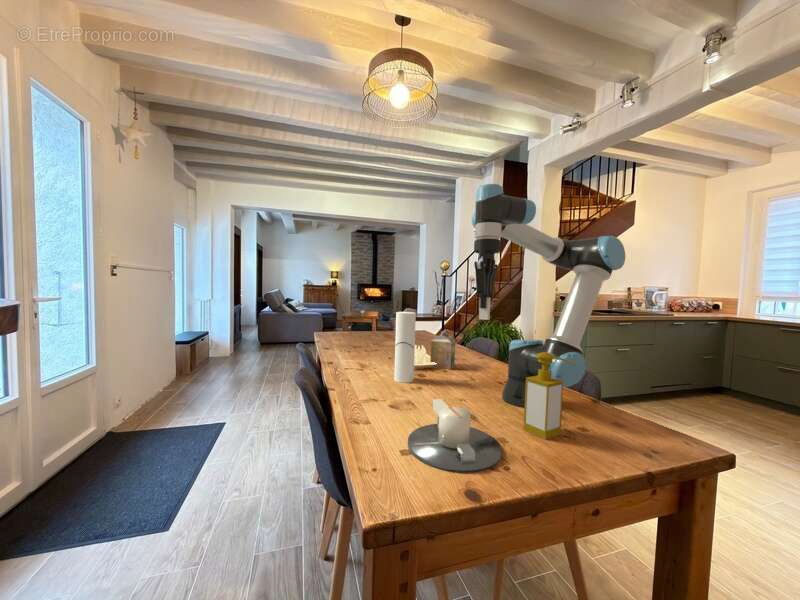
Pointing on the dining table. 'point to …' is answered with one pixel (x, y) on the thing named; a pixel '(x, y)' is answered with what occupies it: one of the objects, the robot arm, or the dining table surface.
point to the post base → (454, 450)
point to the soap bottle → (543, 401)
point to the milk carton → (443, 351)
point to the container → (404, 347)
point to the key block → (452, 424)
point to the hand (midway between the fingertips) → (484, 319)
